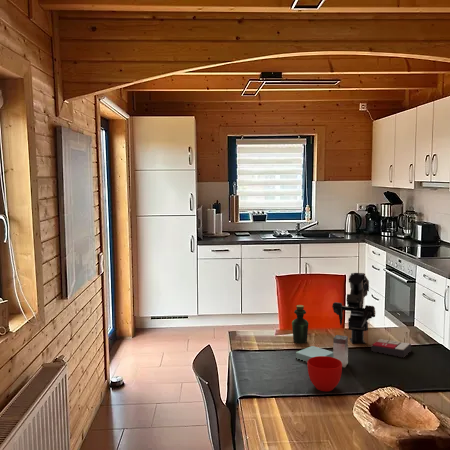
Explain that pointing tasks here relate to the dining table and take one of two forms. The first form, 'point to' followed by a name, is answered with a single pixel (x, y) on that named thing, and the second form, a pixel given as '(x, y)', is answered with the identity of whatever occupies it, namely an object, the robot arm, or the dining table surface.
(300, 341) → the potion bottle
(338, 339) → the housing
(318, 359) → the ceramic cup
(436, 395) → the dining table surface
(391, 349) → the red grey flat block
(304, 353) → the stand
